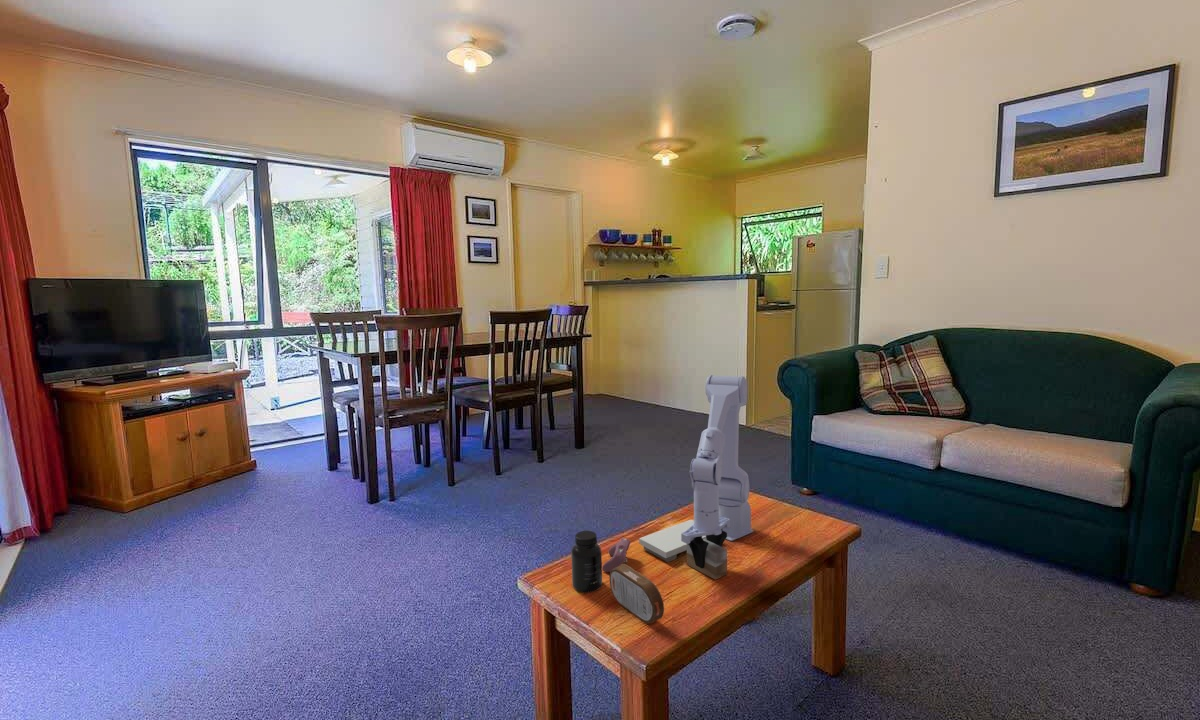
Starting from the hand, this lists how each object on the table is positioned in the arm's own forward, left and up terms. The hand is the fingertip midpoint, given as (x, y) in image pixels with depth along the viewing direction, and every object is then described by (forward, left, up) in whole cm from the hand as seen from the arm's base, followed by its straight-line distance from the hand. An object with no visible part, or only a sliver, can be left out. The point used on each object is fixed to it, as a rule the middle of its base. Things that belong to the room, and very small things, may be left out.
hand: (706, 563), depth 123 cm
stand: (-4, -13, -2) cm, 14 cm away
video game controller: (+15, -16, -2) cm, 21 cm away
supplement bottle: (+26, -12, -2) cm, 29 cm away
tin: (+24, +3, -2) cm, 24 cm away
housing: (0, 0, -1) cm, 1 cm away
